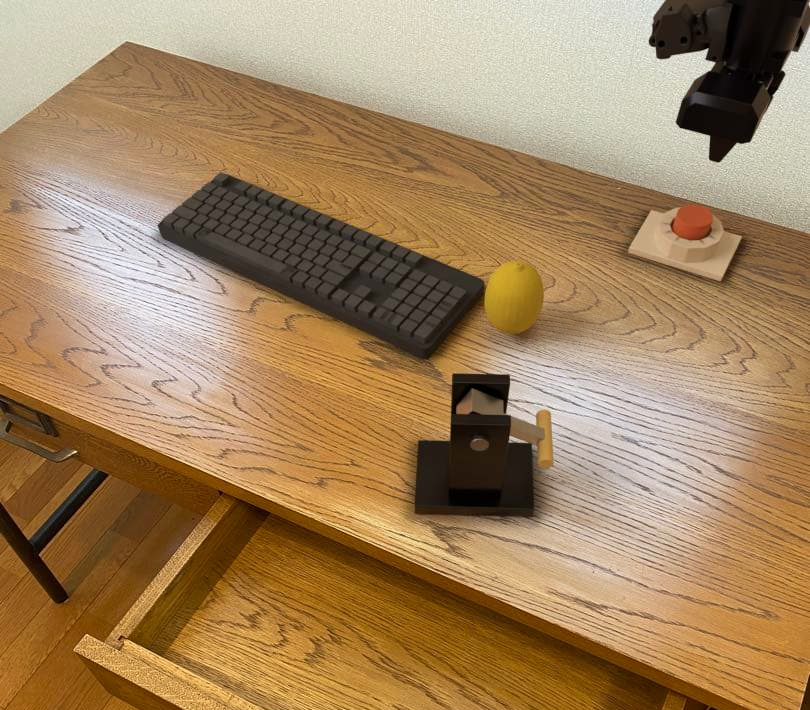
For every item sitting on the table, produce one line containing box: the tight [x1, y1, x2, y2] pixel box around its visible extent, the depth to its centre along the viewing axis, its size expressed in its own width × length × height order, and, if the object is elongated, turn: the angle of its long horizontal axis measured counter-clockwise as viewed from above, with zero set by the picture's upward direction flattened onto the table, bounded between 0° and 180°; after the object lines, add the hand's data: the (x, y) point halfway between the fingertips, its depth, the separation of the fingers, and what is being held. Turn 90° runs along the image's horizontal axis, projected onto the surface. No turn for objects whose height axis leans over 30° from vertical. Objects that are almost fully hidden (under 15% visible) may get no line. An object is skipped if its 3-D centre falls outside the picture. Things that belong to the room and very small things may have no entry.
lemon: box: [484, 260, 545, 335], centre depth 70 cm, size 6×6×8 cm
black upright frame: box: [414, 373, 535, 518], centre depth 60 cm, size 10×7×11 cm
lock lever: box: [456, 388, 555, 469], centre depth 58 cm, size 8×5×2 cm, turn 87°
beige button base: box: [627, 207, 743, 282], centre depth 78 cm, size 10×7×2 cm
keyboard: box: [157, 171, 485, 359], centre depth 79 cm, size 35×11×2 cm, turn 56°
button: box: [673, 204, 714, 241], centre depth 77 cm, size 4×4×2 cm
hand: (715, 159), depth 71 cm, fingers closed
